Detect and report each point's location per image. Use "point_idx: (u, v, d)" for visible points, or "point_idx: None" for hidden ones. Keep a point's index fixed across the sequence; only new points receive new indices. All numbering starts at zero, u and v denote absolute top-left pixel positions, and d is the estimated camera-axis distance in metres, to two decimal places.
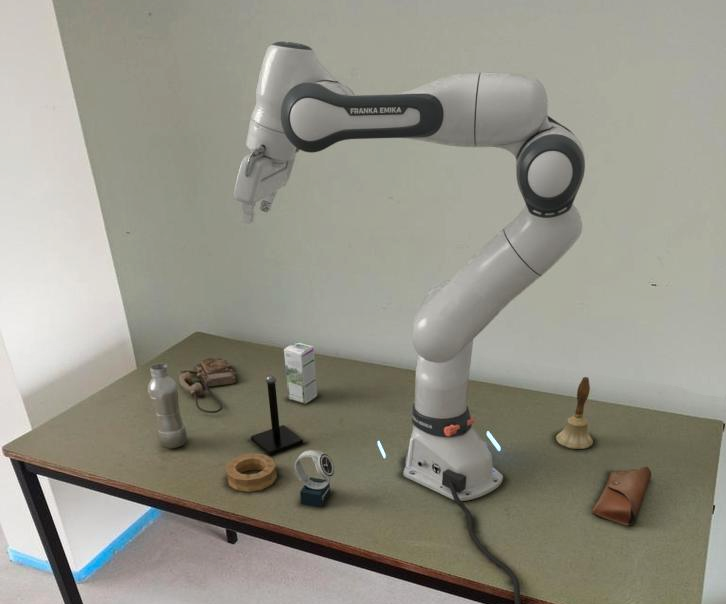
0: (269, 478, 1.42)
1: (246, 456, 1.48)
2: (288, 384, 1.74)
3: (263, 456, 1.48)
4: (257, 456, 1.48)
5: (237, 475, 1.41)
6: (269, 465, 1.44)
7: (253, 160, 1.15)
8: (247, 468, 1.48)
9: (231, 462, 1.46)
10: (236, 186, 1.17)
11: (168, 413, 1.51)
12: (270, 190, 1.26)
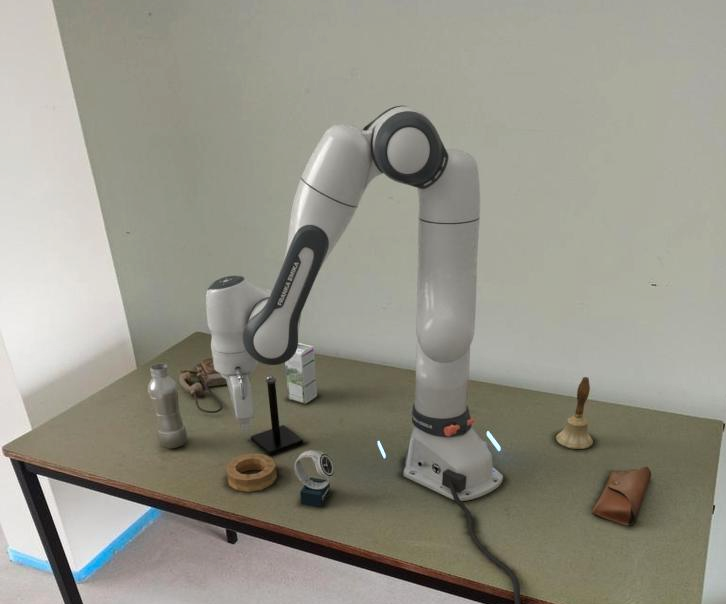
0: (269, 478, 1.42)
1: (246, 456, 1.48)
2: (288, 384, 1.74)
3: (263, 456, 1.48)
4: (257, 456, 1.48)
5: (237, 475, 1.41)
6: (269, 465, 1.44)
7: (243, 384, 1.29)
8: (247, 468, 1.48)
9: (231, 462, 1.46)
10: (237, 410, 1.30)
11: (168, 413, 1.51)
12: None
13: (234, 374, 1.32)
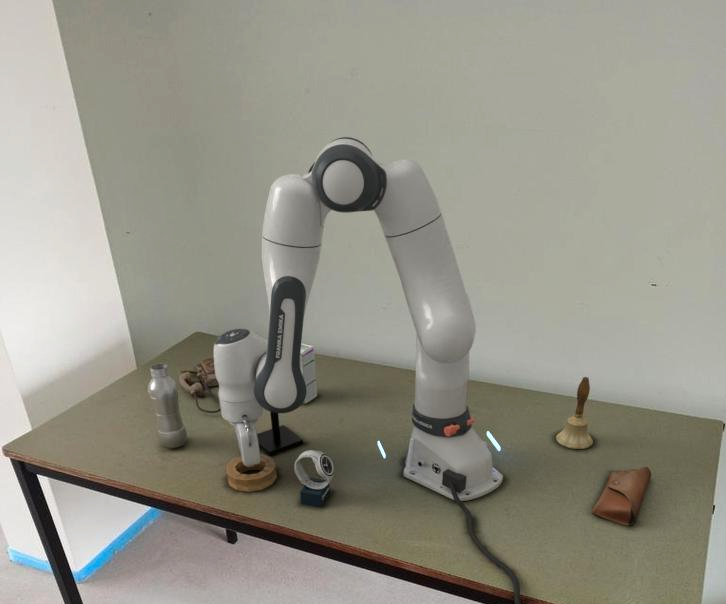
0: (269, 478, 1.42)
1: None
2: None
3: (263, 456, 1.48)
4: None
5: (237, 475, 1.41)
6: (269, 465, 1.45)
7: None
8: (247, 468, 1.48)
9: (231, 462, 1.46)
10: (244, 457, 1.36)
11: (168, 413, 1.51)
12: None
13: (241, 422, 1.38)
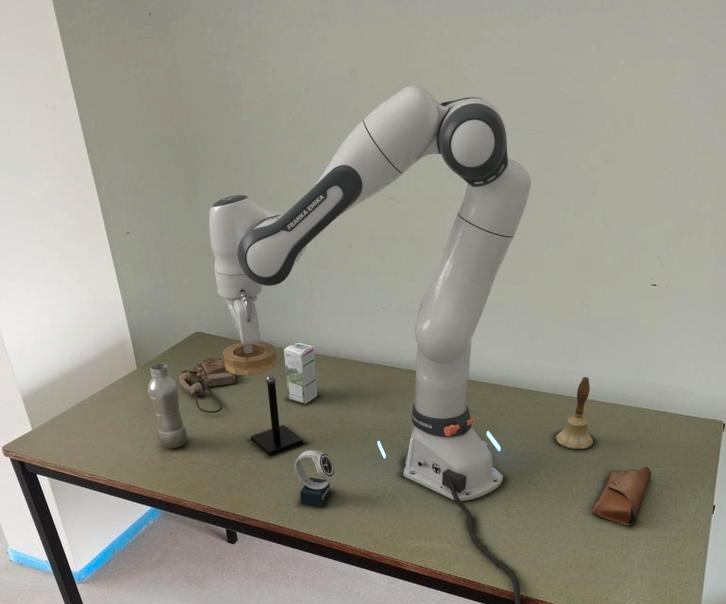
0: (269, 361, 1.34)
1: None
2: (288, 384, 1.74)
3: (262, 342, 1.39)
4: (256, 343, 1.39)
5: (235, 358, 1.33)
6: (269, 349, 1.36)
7: None
8: (245, 356, 1.40)
9: (228, 347, 1.37)
10: (242, 334, 1.28)
11: (168, 413, 1.51)
12: None
13: (239, 298, 1.30)
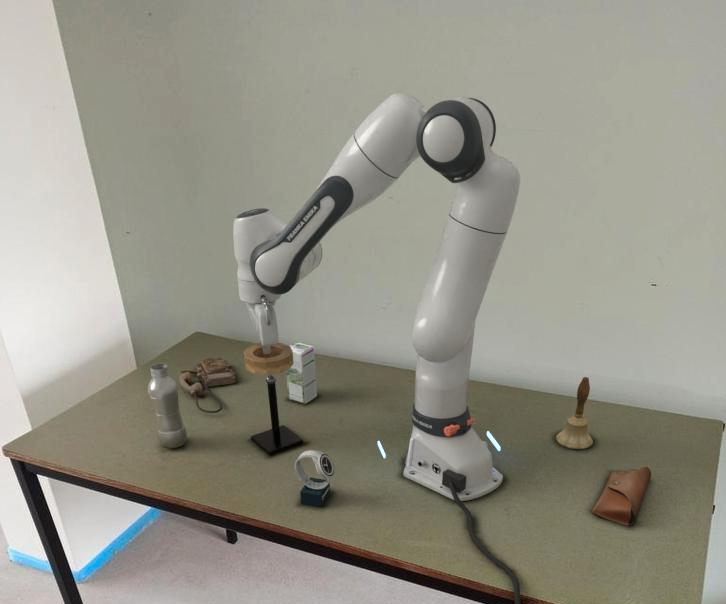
0: (287, 362, 1.44)
1: None
2: (288, 384, 1.74)
3: (279, 344, 1.50)
4: None
5: (255, 358, 1.43)
6: (286, 350, 1.46)
7: None
8: (264, 356, 1.50)
9: (248, 348, 1.48)
10: (263, 336, 1.38)
11: (168, 413, 1.51)
12: None
13: (259, 303, 1.40)
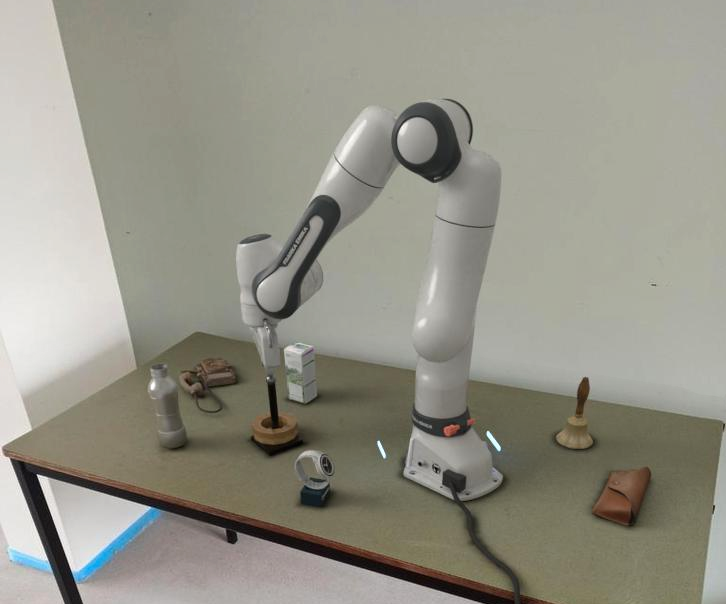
0: (292, 432, 1.56)
1: (269, 414, 1.62)
2: (288, 384, 1.74)
3: (285, 414, 1.62)
4: (279, 414, 1.62)
5: (263, 430, 1.55)
6: (291, 421, 1.58)
7: None
8: (270, 425, 1.62)
9: (256, 419, 1.60)
10: (265, 359, 1.41)
11: (168, 413, 1.51)
12: None
13: (262, 326, 1.43)
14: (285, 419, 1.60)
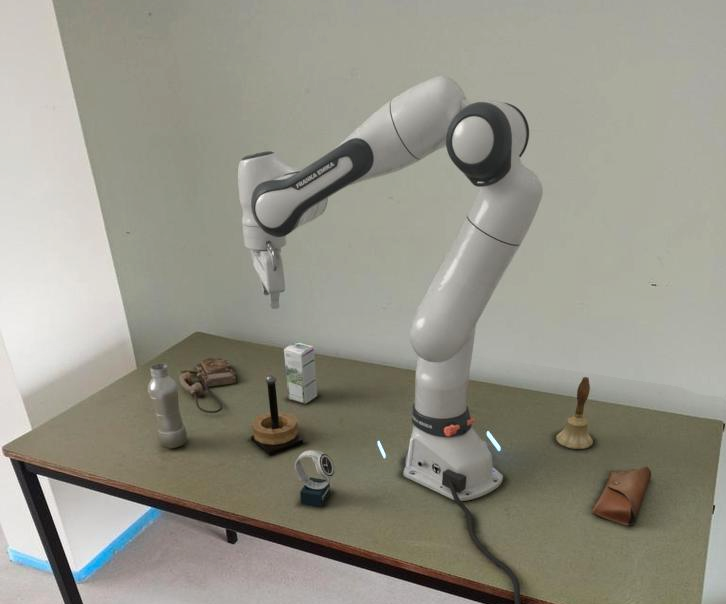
0: (292, 432, 1.56)
1: (269, 414, 1.62)
2: (288, 384, 1.74)
3: (285, 414, 1.62)
4: (279, 414, 1.62)
5: (263, 430, 1.55)
6: (291, 421, 1.58)
7: None
8: (270, 425, 1.62)
9: (256, 419, 1.60)
10: (269, 282, 1.36)
11: (168, 413, 1.51)
12: None
13: (265, 249, 1.38)
14: (285, 419, 1.60)
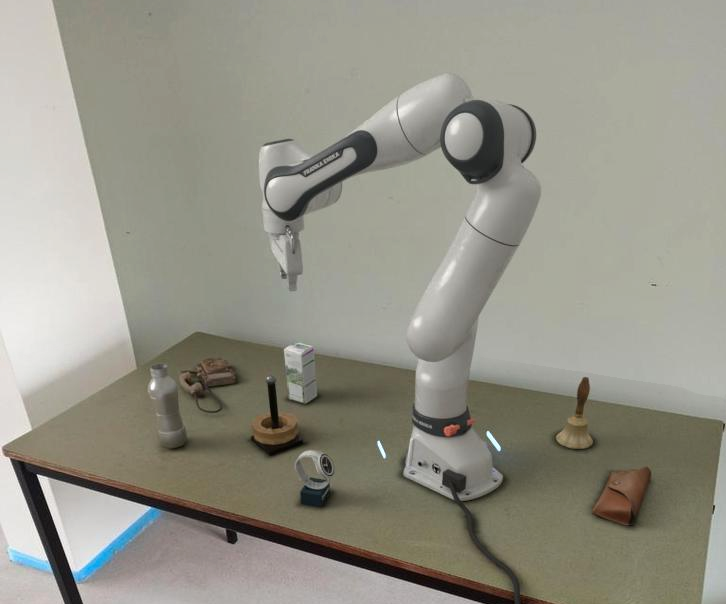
0: (292, 432, 1.56)
1: (269, 414, 1.62)
2: (288, 384, 1.74)
3: (285, 414, 1.62)
4: (279, 414, 1.62)
5: (263, 430, 1.55)
6: (291, 421, 1.58)
7: None
8: (270, 425, 1.62)
9: (256, 419, 1.60)
10: (287, 265, 1.41)
11: (168, 413, 1.51)
12: None
13: (284, 233, 1.43)
14: (285, 419, 1.60)
